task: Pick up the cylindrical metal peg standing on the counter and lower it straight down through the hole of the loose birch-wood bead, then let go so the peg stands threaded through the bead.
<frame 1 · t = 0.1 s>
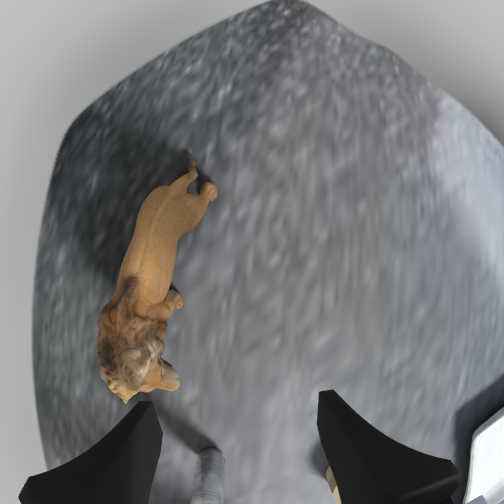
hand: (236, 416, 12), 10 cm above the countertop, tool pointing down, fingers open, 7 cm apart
lion figurine: (174, 264, 22), on the countertop
cylindrical metal peg: (211, 454, 23), on the countertop
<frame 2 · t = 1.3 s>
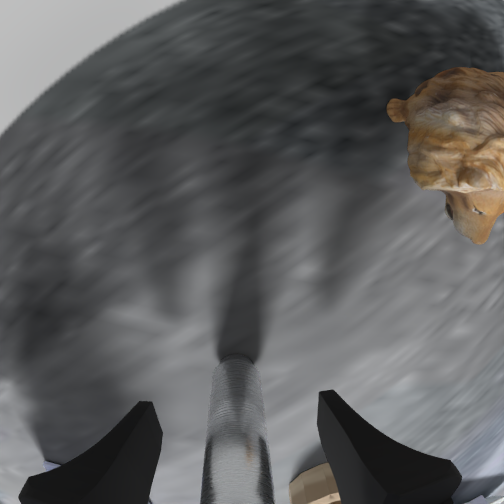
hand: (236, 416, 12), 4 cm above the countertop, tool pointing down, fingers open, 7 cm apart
lion figurine: (447, 129, 14), on the countertop
wooden bead: (329, 483, 19), on the countertop
cylindrical metal peg: (236, 367, 16), on the countertop
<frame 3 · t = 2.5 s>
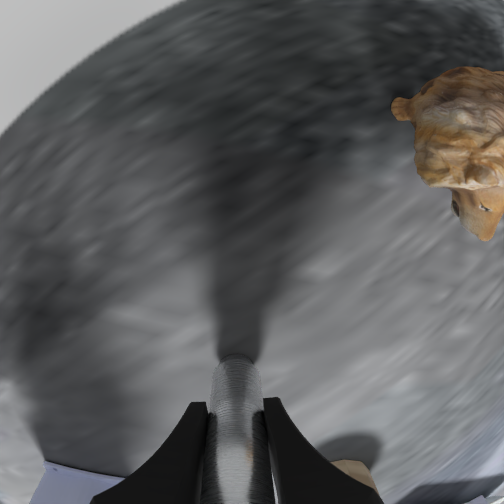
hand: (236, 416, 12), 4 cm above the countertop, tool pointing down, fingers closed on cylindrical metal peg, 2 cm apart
lion figurine: (450, 127, 13), on the countertop
wooden bead: (329, 483, 19), on the countertop
cylindrical metal peg: (236, 367, 16), on the countertop, touching gripper
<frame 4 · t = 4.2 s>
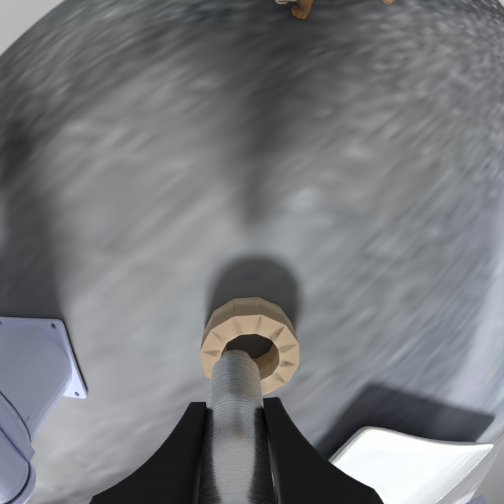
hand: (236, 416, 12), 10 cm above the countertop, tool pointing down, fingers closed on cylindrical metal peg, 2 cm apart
lion figurine: (322, 0, 17), on the countertop
wooden bead: (248, 337, 22), on the countertop
square plate: (367, 489, 30), on the countertop
cylindrical metal peg: (235, 363, 16), point 6 cm above the countertop, touching gripper
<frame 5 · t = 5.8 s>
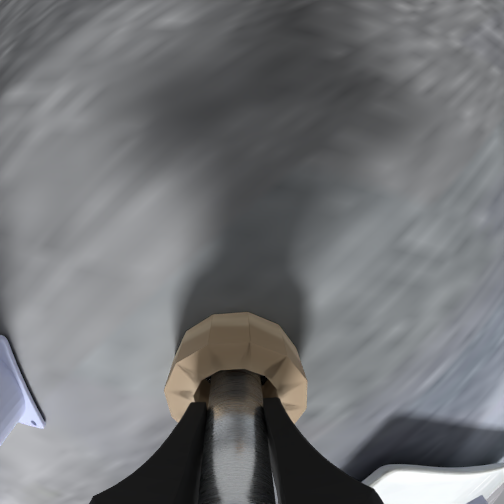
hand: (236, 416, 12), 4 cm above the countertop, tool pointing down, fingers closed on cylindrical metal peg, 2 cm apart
wooden bead: (236, 366, 16), on the countertop
cylindrical metal peg: (235, 364, 16), resting in wooden bead, touching gripper
when the fingers open (4 cm above the countertop, at t = 6.4 s): cylindrical metal peg stays where it is, resting in wooden bead.
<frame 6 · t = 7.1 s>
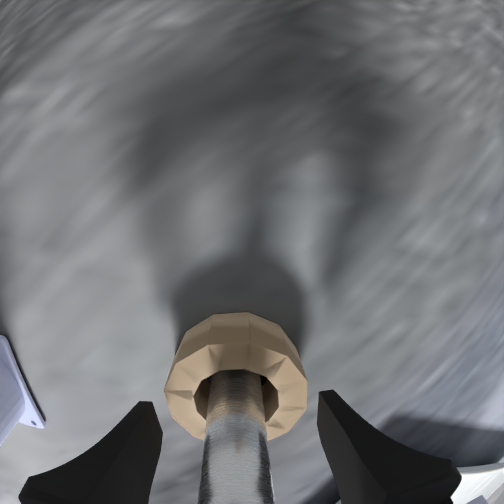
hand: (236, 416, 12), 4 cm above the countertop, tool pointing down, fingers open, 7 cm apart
wooden bead: (236, 366, 16), on the countertop
cylindrical metal peg: (235, 363, 16), resting in wooden bead
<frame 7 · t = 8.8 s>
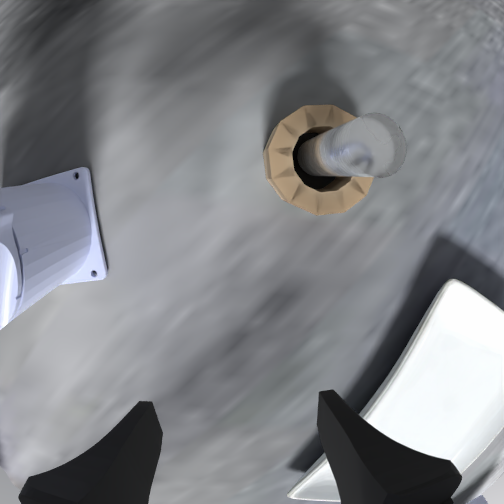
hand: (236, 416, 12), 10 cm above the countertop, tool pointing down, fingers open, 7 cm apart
wooden bead: (312, 161, 20), on the countertop
square plate: (436, 410, 27), on the countertop
cylindrical metal peg: (312, 158, 20), resting in wooden bead
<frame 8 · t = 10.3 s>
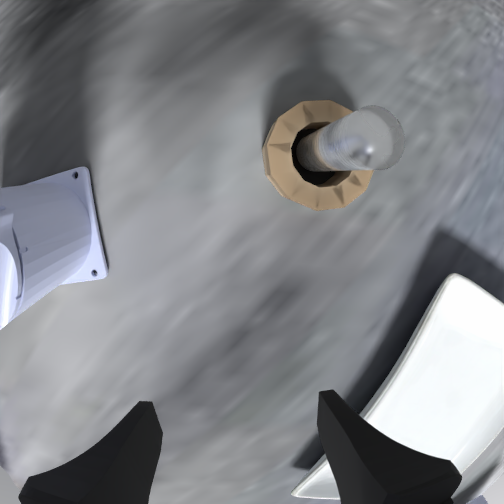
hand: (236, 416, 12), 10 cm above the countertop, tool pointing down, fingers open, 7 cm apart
wooden bead: (311, 156, 20), on the countertop
square plate: (440, 406, 27), on the countertop
cylindrical metal peg: (311, 153, 20), resting in wooden bead
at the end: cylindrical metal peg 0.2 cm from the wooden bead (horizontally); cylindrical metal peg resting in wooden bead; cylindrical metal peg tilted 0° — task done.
